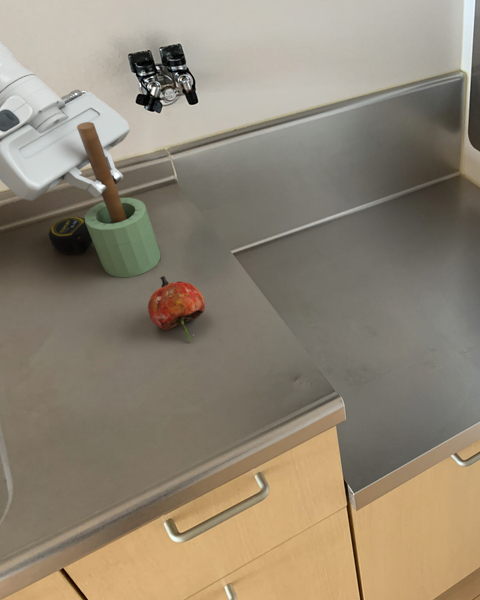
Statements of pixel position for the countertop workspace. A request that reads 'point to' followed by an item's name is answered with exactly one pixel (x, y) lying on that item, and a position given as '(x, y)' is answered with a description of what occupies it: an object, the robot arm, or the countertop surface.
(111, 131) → the robot arm
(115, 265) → the green tube segment
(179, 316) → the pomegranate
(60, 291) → the countertop surface
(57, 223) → the tape measure
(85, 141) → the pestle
